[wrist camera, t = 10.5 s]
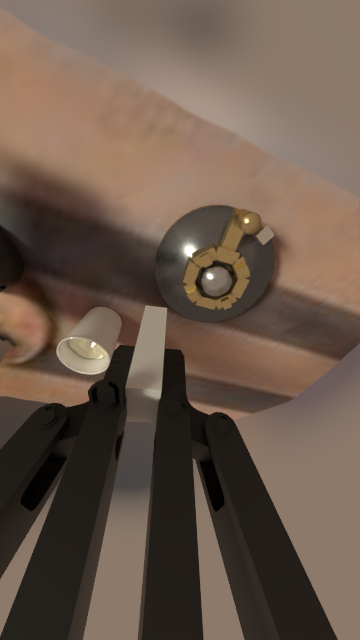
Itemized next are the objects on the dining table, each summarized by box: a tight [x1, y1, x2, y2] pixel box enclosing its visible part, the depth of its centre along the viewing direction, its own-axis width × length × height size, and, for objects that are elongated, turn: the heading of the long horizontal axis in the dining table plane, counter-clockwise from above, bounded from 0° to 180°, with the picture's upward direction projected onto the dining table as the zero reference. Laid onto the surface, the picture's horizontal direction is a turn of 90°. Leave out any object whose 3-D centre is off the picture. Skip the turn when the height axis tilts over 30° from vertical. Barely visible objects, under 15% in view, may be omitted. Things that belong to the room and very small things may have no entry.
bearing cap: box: [155, 205, 274, 322], centre depth 35 cm, size 22×22×7 cm
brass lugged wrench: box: [183, 208, 261, 310], centre depth 31 cm, size 17×11×7 cm, turn 164°
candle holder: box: [57, 307, 122, 374], centre depth 41 cm, size 10×10×12 cm
